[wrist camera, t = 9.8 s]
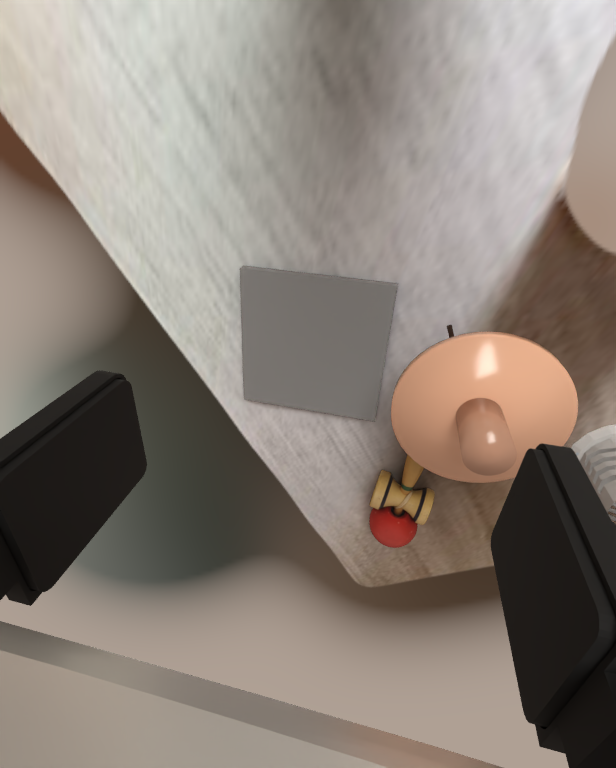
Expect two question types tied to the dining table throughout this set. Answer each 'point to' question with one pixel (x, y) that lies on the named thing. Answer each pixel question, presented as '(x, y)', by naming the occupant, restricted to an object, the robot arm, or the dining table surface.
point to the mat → (314, 340)
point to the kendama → (399, 506)
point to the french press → (600, 463)
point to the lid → (482, 405)
